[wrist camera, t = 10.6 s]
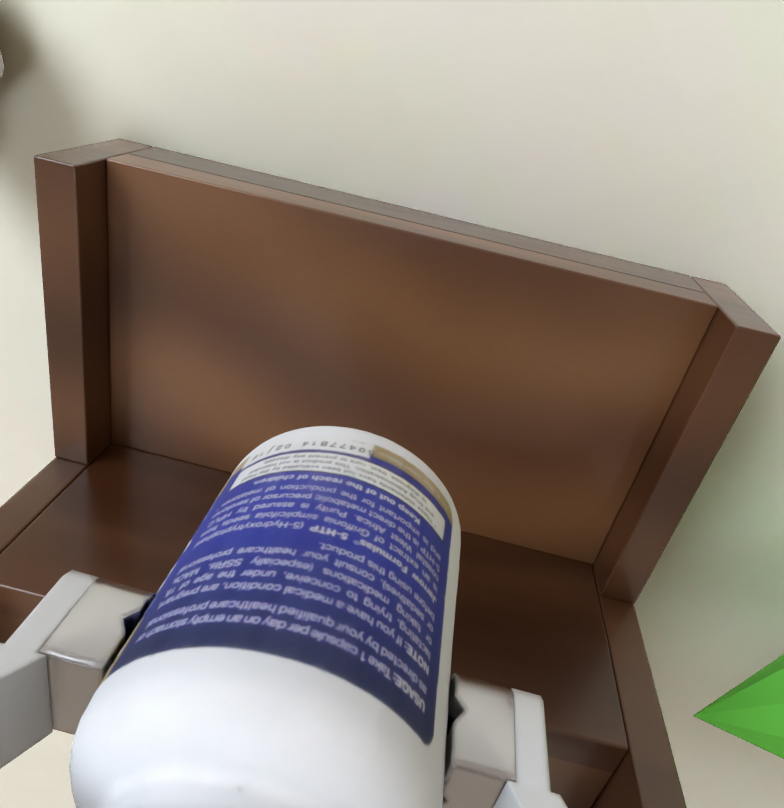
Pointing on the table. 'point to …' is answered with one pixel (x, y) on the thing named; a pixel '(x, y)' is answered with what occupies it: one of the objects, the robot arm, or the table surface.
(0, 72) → the rubber duck
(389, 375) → the shelf
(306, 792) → the pill bottle
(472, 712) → the robot arm
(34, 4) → the table surface
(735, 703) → the decorative tree
